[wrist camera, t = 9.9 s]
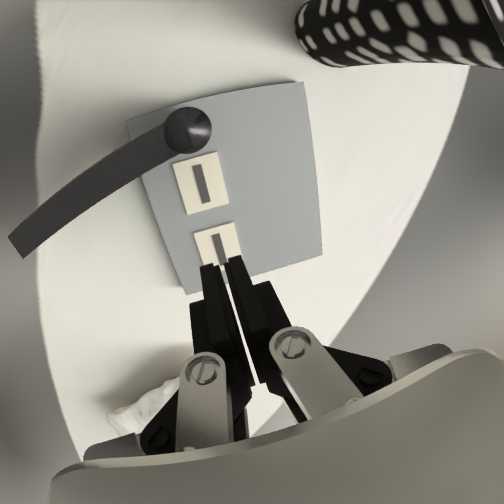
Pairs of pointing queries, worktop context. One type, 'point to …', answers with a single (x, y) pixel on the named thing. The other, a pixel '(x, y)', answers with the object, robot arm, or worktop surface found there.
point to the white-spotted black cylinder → (403, 32)
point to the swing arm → (114, 174)
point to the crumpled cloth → (142, 409)
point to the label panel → (239, 185)
